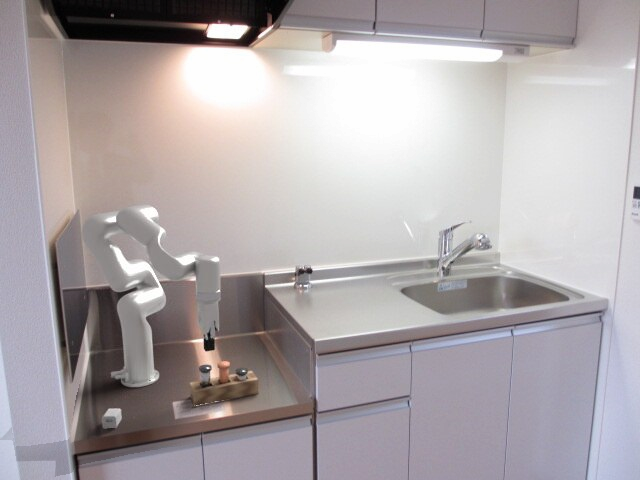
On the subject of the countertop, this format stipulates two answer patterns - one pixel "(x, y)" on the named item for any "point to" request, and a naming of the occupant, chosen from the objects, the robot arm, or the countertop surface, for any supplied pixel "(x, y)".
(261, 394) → the countertop surface
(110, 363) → the countertop surface
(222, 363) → the rust plug
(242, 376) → the grey plug far
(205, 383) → the grey plug near
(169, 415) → the countertop surface
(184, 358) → the countertop surface
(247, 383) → the socket strip
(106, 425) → the usb wall charger
